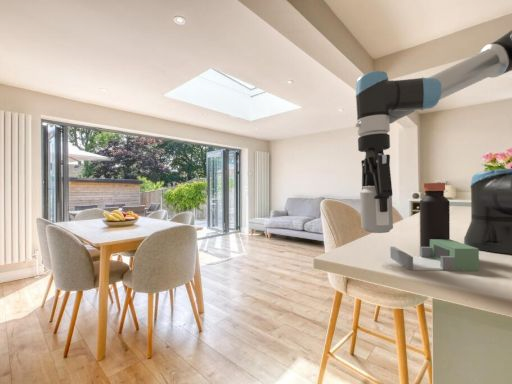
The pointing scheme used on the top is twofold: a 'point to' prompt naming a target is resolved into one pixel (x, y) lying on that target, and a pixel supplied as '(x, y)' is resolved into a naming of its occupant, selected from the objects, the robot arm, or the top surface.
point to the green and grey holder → (440, 256)
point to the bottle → (434, 214)
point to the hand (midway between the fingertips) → (376, 222)
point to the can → (373, 211)
